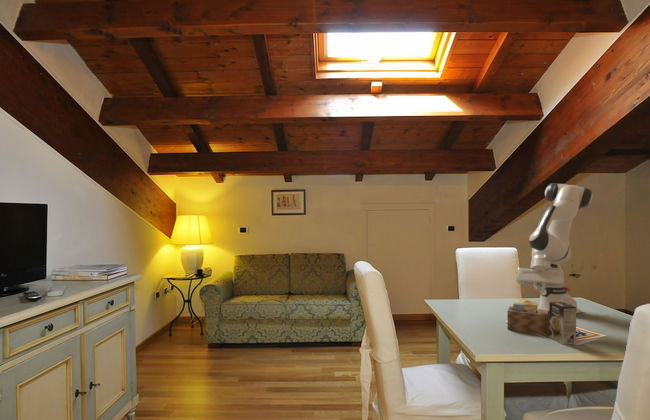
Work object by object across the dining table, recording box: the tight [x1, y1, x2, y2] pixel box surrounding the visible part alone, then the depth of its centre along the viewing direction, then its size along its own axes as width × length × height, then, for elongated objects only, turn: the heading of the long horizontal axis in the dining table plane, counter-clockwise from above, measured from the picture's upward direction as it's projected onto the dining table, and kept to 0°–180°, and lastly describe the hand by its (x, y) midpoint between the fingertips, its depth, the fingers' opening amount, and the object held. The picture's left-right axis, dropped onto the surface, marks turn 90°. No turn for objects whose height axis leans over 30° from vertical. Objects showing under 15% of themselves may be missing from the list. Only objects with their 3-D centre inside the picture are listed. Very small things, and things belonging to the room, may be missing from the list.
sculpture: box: [511, 298, 539, 309], centre depth 206 cm, size 11×12×11 cm
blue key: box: [512, 301, 524, 312], centre depth 191 cm, size 4×4×4 cm
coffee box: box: [549, 302, 577, 345], centre depth 172 cm, size 9×6×16 cm
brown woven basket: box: [507, 305, 550, 336], centre depth 188 cm, size 19×10×9 cm, turn 59°
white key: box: [537, 306, 548, 314], centre depth 186 cm, size 4×4×4 cm
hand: (539, 292), depth 186 cm, fingers closed
